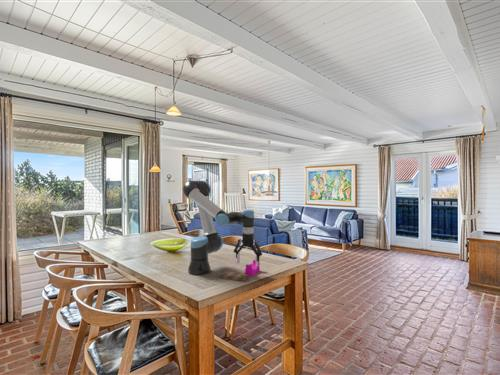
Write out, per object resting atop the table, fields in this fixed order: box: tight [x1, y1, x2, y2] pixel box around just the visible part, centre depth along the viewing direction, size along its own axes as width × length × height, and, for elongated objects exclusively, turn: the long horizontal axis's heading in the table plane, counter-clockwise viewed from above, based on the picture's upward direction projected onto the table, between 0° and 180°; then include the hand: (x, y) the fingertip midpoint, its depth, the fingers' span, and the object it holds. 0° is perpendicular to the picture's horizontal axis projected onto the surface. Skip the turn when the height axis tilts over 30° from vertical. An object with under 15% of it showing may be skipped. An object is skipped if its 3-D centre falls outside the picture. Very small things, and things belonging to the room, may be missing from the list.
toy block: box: [244, 258, 261, 278], centre depth 186 cm, size 15×6×8 cm, turn 156°
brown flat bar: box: [219, 270, 250, 282], centre depth 176 cm, size 17×7×2 cm, turn 66°
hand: (247, 264), depth 185 cm, fingers open, 13 cm apart
